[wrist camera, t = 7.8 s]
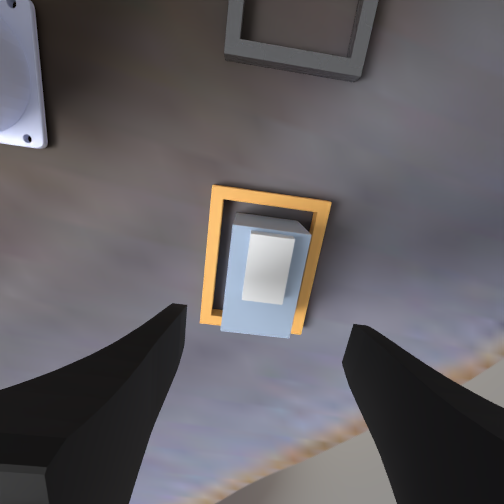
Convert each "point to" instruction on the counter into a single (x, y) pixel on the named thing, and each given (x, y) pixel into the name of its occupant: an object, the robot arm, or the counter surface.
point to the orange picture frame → (271, 199)
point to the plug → (264, 275)
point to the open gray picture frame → (299, 58)
